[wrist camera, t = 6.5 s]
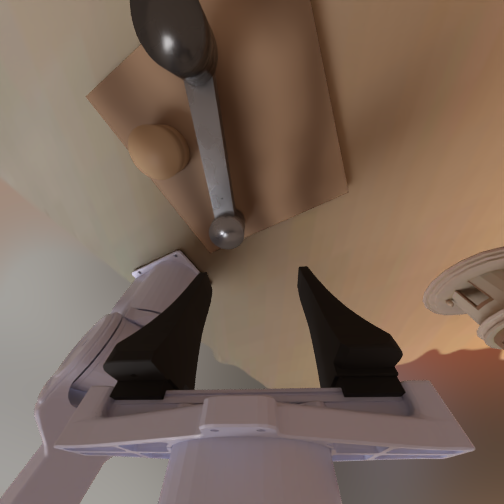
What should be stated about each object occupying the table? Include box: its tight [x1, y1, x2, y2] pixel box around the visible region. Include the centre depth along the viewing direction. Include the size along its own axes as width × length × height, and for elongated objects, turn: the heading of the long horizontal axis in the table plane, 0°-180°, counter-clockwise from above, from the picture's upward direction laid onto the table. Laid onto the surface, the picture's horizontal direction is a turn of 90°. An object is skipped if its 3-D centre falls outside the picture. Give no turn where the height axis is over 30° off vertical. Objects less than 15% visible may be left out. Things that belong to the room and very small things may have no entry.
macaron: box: [128, 125, 190, 180], centre depth 16 cm, size 4×4×3 cm
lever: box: [130, 0, 245, 249], centre depth 14 cm, size 16×4×6 cm, turn 5°
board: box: [86, 0, 349, 253], centre depth 17 cm, size 18×18×1 cm
